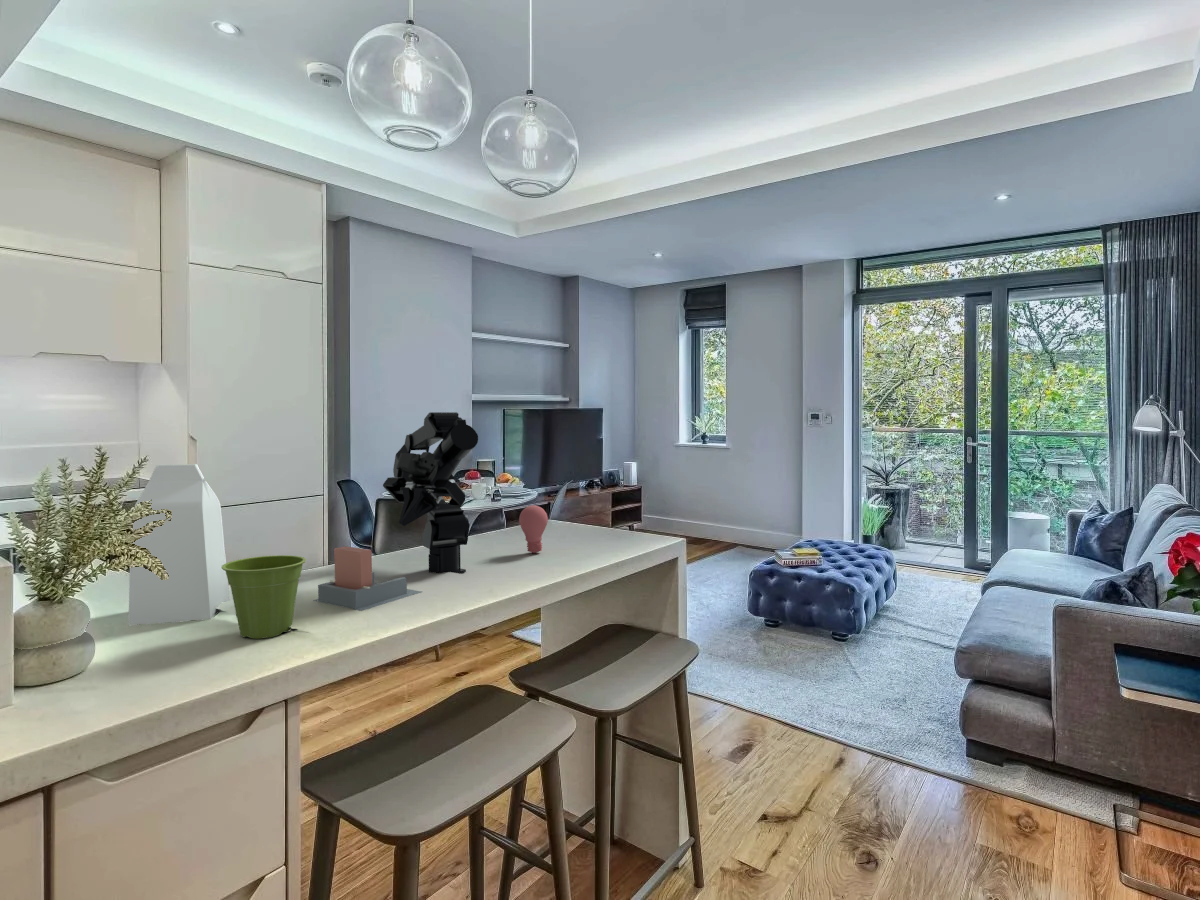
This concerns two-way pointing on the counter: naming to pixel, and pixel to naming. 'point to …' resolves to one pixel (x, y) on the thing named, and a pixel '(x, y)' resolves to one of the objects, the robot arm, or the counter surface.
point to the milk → (180, 550)
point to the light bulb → (533, 526)
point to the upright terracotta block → (353, 567)
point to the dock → (364, 594)
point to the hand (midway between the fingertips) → (401, 524)
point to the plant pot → (264, 593)
